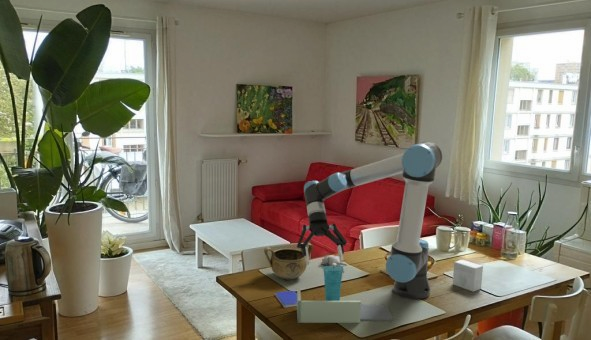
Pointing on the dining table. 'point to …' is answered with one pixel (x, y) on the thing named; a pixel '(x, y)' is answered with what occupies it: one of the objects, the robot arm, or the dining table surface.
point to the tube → (332, 282)
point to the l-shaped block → (327, 311)
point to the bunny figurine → (332, 261)
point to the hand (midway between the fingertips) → (325, 262)
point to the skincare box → (467, 275)
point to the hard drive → (287, 298)
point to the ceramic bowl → (288, 262)
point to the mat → (375, 313)
